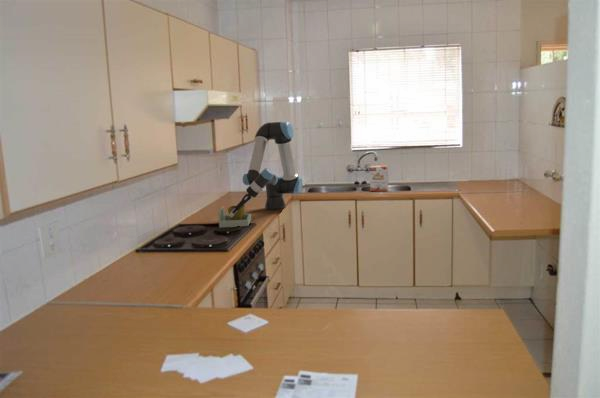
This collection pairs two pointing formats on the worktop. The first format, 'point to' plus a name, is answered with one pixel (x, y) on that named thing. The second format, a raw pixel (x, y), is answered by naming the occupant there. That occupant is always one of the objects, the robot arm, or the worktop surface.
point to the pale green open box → (227, 222)
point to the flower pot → (237, 213)
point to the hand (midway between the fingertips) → (231, 214)
